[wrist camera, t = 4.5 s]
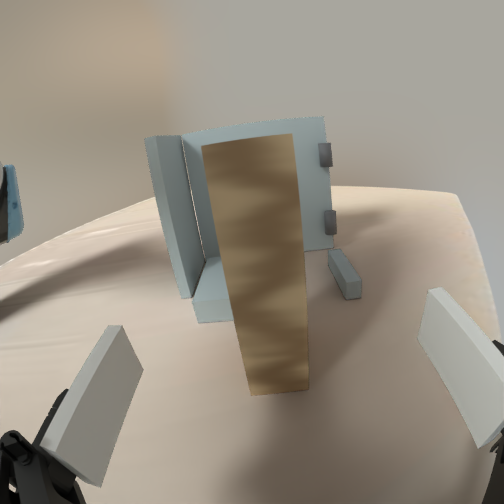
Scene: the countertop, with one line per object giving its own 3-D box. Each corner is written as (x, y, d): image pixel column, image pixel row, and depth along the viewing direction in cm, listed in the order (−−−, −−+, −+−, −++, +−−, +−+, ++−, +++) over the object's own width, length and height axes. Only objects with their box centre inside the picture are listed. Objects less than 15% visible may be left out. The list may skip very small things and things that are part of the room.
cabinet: (170, 324, 27) (122, 140, 20) (198, 258, 42) (174, 137, 35) (370, 301, 26) (367, 105, 19) (332, 242, 40) (322, 117, 33)
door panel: (251, 395, 18) (200, 145, 12) (252, 334, 24) (219, 142, 18) (308, 389, 17) (292, 133, 11) (297, 328, 24) (278, 134, 18)
